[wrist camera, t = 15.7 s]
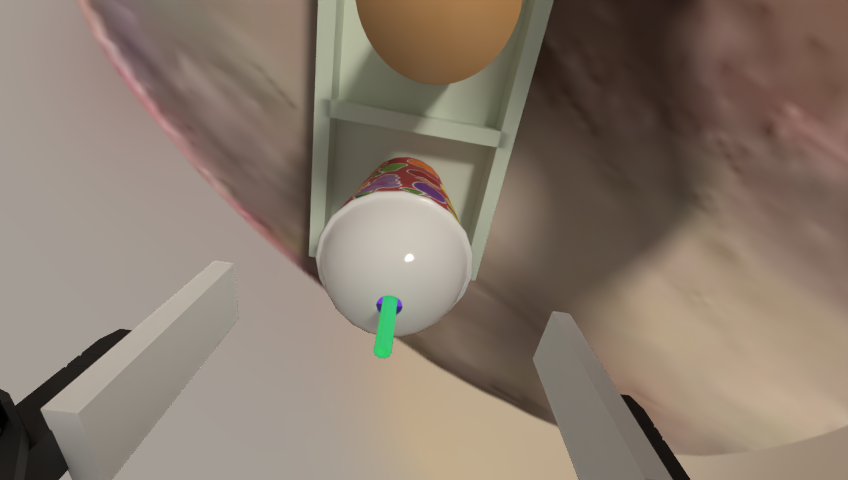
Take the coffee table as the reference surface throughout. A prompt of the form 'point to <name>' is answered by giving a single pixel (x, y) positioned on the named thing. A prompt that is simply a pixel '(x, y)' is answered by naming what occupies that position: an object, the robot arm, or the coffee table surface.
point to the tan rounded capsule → (438, 35)
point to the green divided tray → (416, 119)
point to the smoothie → (395, 253)
